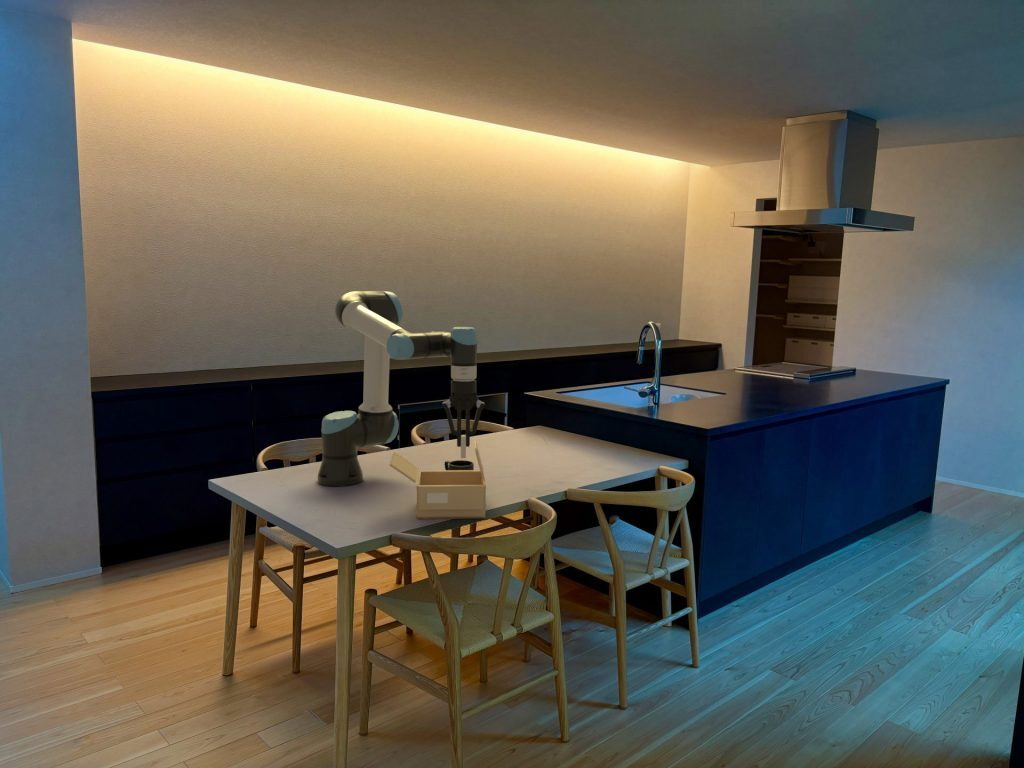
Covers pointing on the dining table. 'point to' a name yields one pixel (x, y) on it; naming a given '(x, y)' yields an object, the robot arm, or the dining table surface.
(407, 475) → the flap left
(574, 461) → the dining table surface
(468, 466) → the mug
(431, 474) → the carton
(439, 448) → the dining table surface
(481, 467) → the flap right
